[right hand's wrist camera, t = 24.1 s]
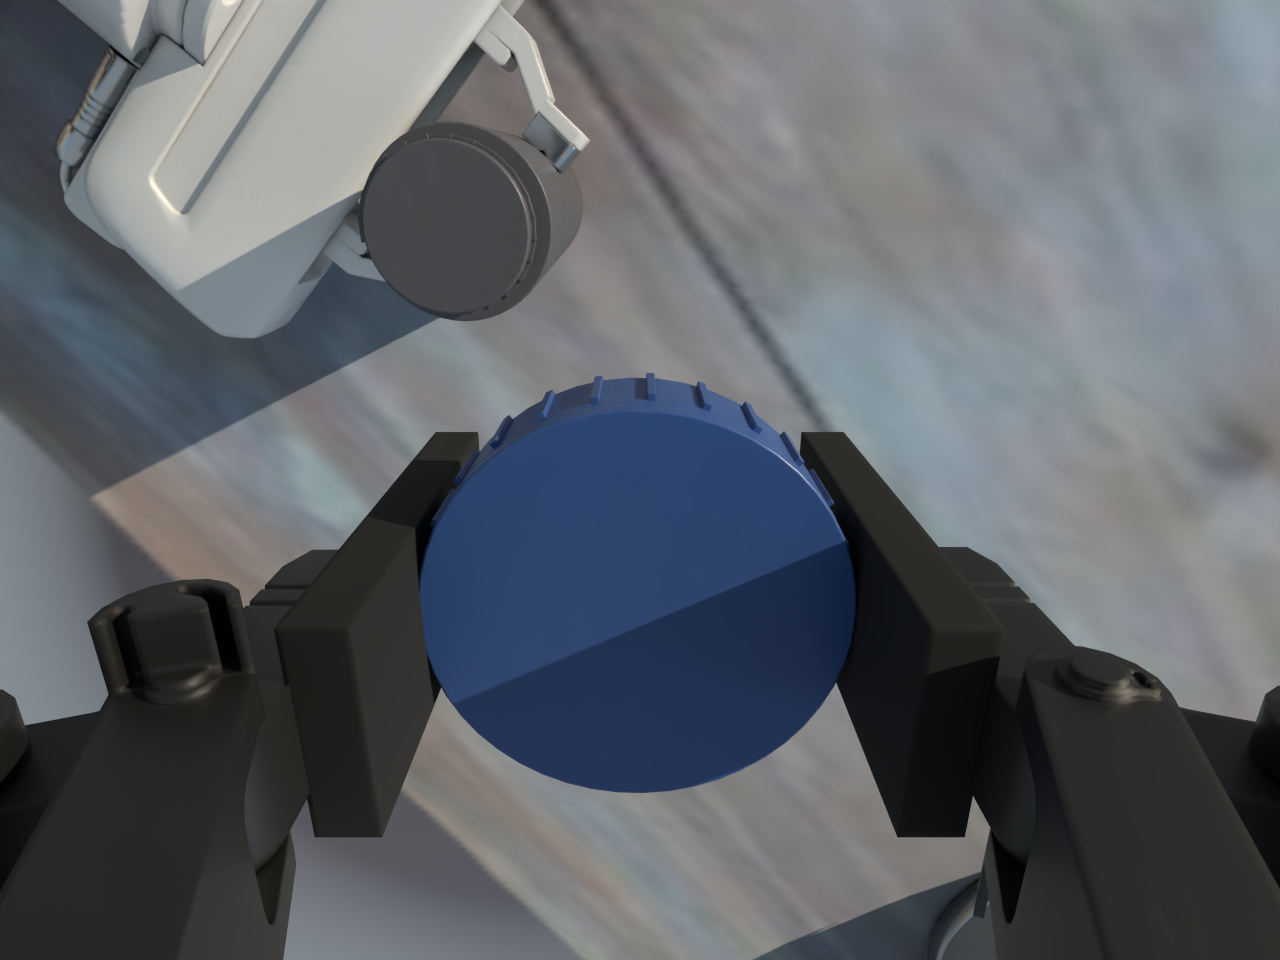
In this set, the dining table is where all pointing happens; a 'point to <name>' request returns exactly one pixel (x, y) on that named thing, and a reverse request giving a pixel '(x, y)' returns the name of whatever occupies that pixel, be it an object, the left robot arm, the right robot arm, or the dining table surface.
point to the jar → (466, 218)
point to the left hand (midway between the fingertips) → (518, 228)
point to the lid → (637, 587)
